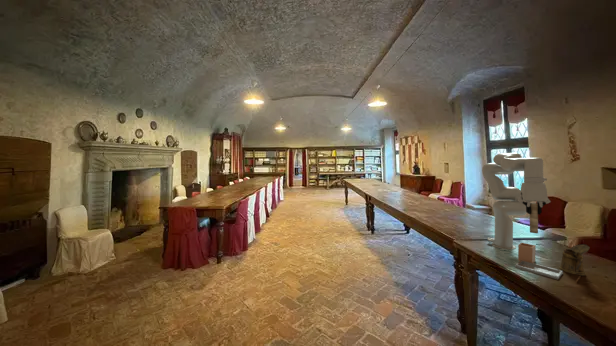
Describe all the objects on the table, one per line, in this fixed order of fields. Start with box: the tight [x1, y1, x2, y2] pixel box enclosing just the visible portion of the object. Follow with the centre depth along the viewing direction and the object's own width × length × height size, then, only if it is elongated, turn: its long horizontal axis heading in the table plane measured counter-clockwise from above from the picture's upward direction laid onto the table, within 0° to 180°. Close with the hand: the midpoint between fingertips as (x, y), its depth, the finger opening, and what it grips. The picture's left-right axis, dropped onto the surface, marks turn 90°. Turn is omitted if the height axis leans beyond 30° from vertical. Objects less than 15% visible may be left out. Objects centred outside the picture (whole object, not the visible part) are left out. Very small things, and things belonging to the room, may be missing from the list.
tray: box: [514, 260, 564, 280], centre depth 121 cm, size 16×10×2 cm, turn 33°
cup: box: [517, 242, 537, 264], centre depth 132 cm, size 6×6×10 cm
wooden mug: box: [558, 243, 591, 277], centre depth 117 cm, size 9×14×18 cm, turn 154°
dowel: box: [529, 202, 539, 234], centre depth 125 cm, size 3×3×16 cm
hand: (533, 213), depth 124 cm, fingers closed on dowel, 3 cm apart
